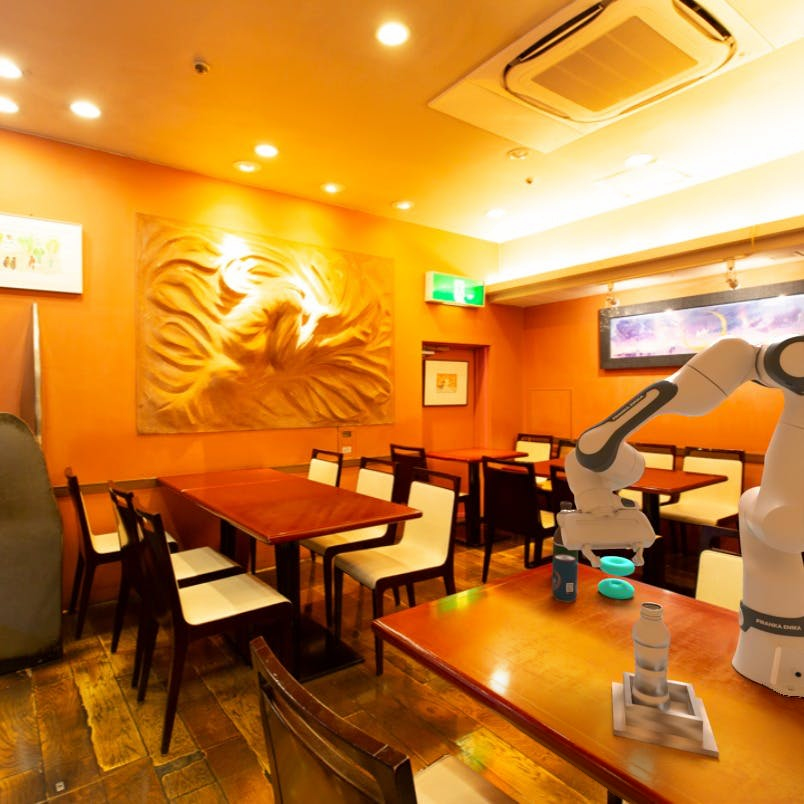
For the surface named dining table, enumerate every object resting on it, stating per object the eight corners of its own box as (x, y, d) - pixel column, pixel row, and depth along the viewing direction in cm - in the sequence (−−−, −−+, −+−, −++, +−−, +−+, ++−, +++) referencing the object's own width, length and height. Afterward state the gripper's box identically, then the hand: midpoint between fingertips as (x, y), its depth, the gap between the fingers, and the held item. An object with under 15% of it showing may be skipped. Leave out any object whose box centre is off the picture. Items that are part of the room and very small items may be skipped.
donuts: (642, 563, 153) (615, 567, 149) (642, 597, 153) (615, 602, 149) (616, 553, 162) (591, 557, 158) (616, 585, 162) (590, 590, 159)
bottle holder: (701, 703, 101) (701, 680, 101) (718, 757, 86) (719, 731, 86) (612, 686, 107) (612, 664, 107) (613, 734, 92) (614, 709, 92)
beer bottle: (551, 578, 168) (552, 503, 168) (553, 570, 176) (554, 499, 175) (577, 581, 166) (578, 505, 165) (578, 573, 173) (579, 500, 172)
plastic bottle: (677, 717, 95) (679, 608, 95) (656, 730, 92) (658, 616, 91) (644, 700, 101) (645, 596, 100) (623, 711, 97) (624, 604, 97)
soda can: (548, 594, 156) (548, 553, 155) (570, 593, 156) (571, 552, 156) (557, 603, 149) (558, 561, 148) (581, 602, 149) (581, 560, 149)
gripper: (558, 503, 119) (575, 559, 109) (644, 500, 121) (669, 556, 111) (550, 518, 123) (567, 573, 114) (634, 515, 125) (657, 570, 116)
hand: (618, 565), depth 112 cm, fingers open, 8 cm apart
